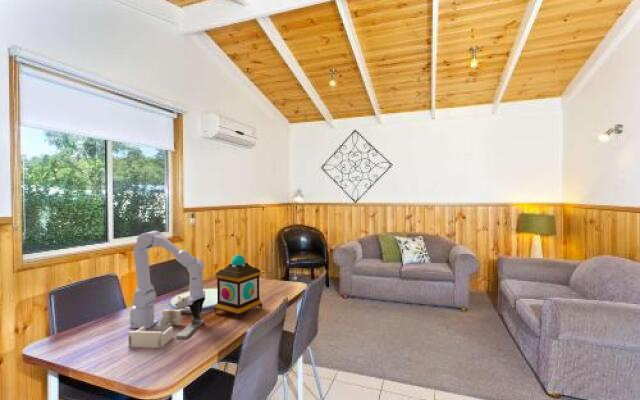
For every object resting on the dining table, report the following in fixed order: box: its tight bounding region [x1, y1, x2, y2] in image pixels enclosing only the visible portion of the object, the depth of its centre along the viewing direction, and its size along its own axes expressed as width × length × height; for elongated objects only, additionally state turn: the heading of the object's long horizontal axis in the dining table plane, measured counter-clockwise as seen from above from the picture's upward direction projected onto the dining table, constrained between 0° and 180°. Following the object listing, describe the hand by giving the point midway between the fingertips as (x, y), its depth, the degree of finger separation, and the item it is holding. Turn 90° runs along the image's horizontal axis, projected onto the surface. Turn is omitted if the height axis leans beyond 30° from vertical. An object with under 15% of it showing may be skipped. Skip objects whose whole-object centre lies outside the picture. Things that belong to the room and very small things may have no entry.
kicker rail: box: [176, 319, 205, 339], centre depth 141 cm, size 4×17×1 cm, turn 177°
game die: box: [174, 295, 190, 310], centre depth 163 cm, size 9×8×10 cm
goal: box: [127, 326, 174, 349], centre depth 129 cm, size 13×9×6 cm
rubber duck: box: [157, 314, 172, 332], centre depth 139 cm, size 5×7×8 cm
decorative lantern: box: [214, 254, 263, 321], centre depth 162 cm, size 20×20×30 cm
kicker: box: [162, 305, 203, 326], centre depth 147 cm, size 17×4×9 cm, turn 87°
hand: (196, 314), depth 147 cm, fingers closed on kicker, 3 cm apart
